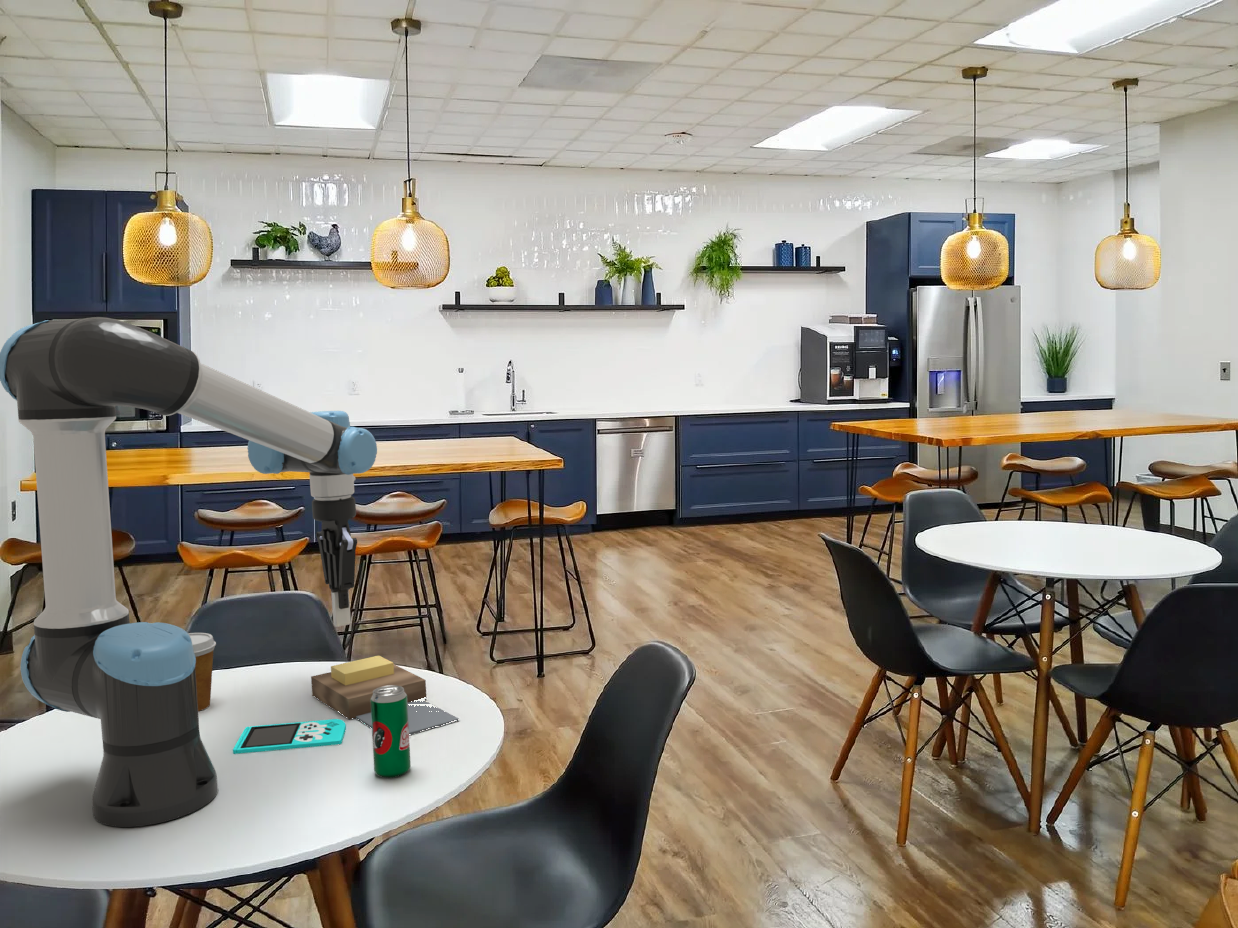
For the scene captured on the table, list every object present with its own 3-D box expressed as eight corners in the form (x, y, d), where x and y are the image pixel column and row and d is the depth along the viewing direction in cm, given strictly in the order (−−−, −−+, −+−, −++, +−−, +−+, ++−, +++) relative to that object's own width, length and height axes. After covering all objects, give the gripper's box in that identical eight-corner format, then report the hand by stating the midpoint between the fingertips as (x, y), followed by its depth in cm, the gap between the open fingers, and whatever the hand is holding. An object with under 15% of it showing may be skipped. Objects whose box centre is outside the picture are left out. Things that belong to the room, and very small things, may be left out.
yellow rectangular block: (394, 673, 170) (393, 662, 170) (345, 685, 165) (344, 673, 164) (379, 666, 175) (378, 655, 175) (331, 677, 169) (330, 666, 169)
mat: (459, 720, 156) (459, 718, 156) (390, 740, 149) (390, 738, 149) (421, 701, 166) (421, 698, 166) (355, 718, 159) (355, 716, 158)
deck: (426, 699, 167) (425, 679, 166) (349, 719, 158) (348, 699, 158) (385, 677, 179) (384, 659, 179) (312, 695, 170) (311, 676, 170)
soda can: (410, 777, 135) (405, 694, 134) (372, 781, 134) (368, 697, 133) (411, 763, 140) (407, 682, 139) (375, 766, 139) (371, 685, 138)
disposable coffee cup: (200, 694, 173) (195, 629, 172) (231, 704, 167) (226, 636, 166) (148, 710, 165) (143, 642, 164) (179, 721, 160) (173, 650, 158)
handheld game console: (341, 748, 148) (340, 739, 148) (231, 758, 145) (231, 749, 145) (348, 724, 158) (347, 716, 157) (245, 733, 155) (245, 725, 155)
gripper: (368, 497, 171) (376, 627, 173) (338, 491, 181) (347, 613, 183) (327, 503, 166) (337, 636, 169) (299, 496, 176) (308, 621, 179)
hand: (342, 624), depth 176 cm, fingers closed
